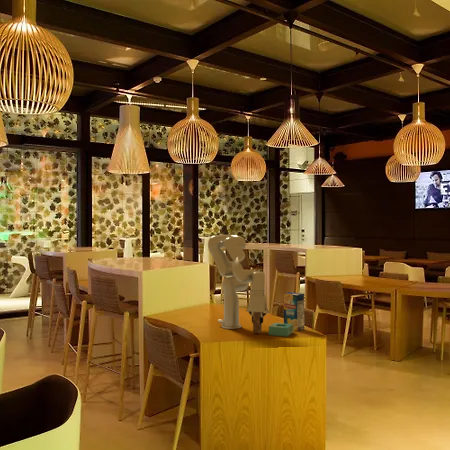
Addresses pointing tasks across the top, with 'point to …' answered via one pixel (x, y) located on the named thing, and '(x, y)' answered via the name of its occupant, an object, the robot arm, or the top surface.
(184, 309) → the top surface
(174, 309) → the top surface
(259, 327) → the long wooden beam
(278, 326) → the green square frame
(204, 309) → the top surface
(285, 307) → the beverage box
